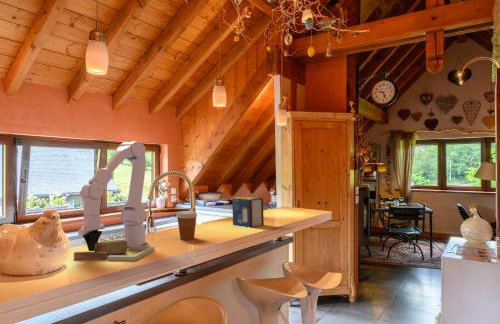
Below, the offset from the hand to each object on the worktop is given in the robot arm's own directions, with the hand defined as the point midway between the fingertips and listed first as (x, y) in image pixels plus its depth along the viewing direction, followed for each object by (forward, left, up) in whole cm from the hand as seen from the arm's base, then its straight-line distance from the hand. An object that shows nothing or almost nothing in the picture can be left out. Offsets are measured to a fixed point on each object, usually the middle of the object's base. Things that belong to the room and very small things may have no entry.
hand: (92, 250), depth 137 cm
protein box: (-72, +51, -2) cm, 88 cm away
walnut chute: (0, +4, -1) cm, 4 cm away
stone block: (0, +7, -2) cm, 7 cm away
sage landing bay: (0, +16, -1) cm, 16 cm away
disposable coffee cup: (-32, +28, -2) cm, 42 cm away
